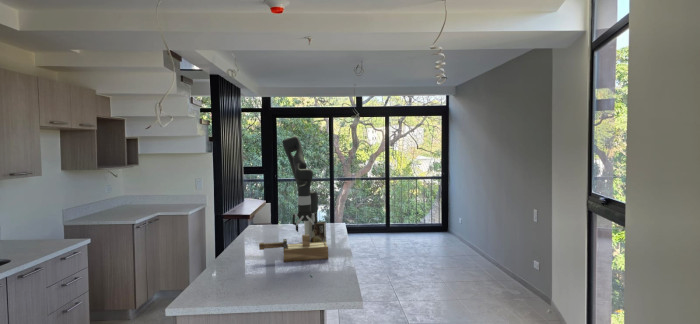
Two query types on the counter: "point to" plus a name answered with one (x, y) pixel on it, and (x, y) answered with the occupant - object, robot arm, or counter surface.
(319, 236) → the coffee box
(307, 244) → the lid
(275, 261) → the counter surface
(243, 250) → the counter surface
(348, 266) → the counter surface
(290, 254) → the wooden box
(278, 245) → the brown block
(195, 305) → the counter surface
